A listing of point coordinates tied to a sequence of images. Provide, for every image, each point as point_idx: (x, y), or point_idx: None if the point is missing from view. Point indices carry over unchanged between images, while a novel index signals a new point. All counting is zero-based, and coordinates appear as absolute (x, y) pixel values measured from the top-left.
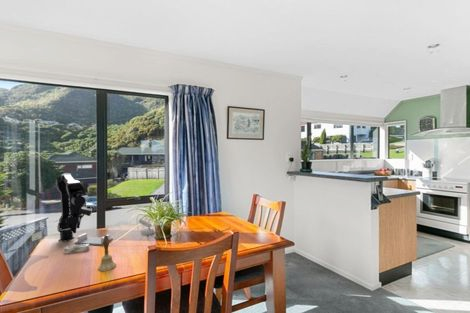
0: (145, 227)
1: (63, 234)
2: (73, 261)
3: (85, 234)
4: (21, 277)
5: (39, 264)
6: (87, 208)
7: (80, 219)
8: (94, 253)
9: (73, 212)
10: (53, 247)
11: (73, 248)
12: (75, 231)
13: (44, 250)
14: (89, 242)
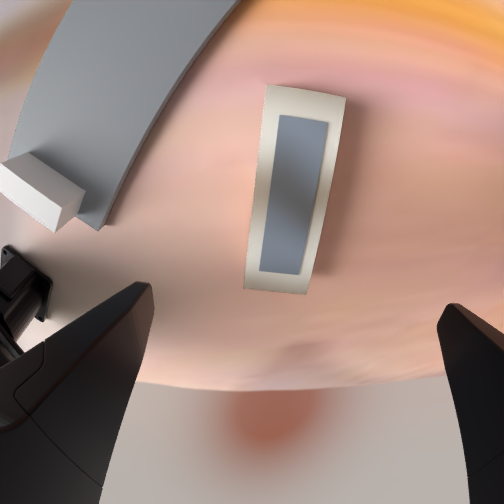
0: None
1: (24, 323)
2: (483, 203)
3: (15, 172)
4: None
5: (396, 353)
6: None
7: (33, 421)
8: (429, 60)
9: None
10: None
11: (321, 225)
12: (476, 322)
13: (180, 367)
14: (144, 100)
